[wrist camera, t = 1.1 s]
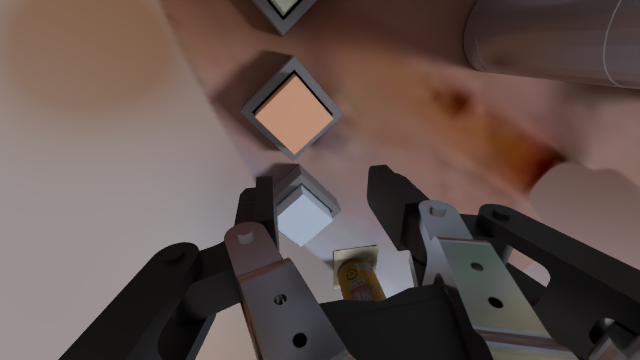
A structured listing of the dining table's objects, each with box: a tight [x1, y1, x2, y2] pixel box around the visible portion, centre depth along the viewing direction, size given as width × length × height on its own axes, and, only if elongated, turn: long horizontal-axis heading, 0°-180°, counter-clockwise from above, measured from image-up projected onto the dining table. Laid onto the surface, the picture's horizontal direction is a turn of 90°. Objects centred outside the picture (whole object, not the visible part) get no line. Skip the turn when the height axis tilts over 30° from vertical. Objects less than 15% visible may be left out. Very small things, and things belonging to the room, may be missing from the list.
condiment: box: [334, 246, 387, 301], centre depth 38 cm, size 7×8×12 cm
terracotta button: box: [255, 73, 333, 155], centre depth 26 cm, size 5×5×3 cm
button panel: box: [240, 0, 343, 245], centre depth 28 cm, size 11×36×3 cm, turn 1°
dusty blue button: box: [276, 183, 333, 247], centre depth 32 cm, size 5×5×3 cm
